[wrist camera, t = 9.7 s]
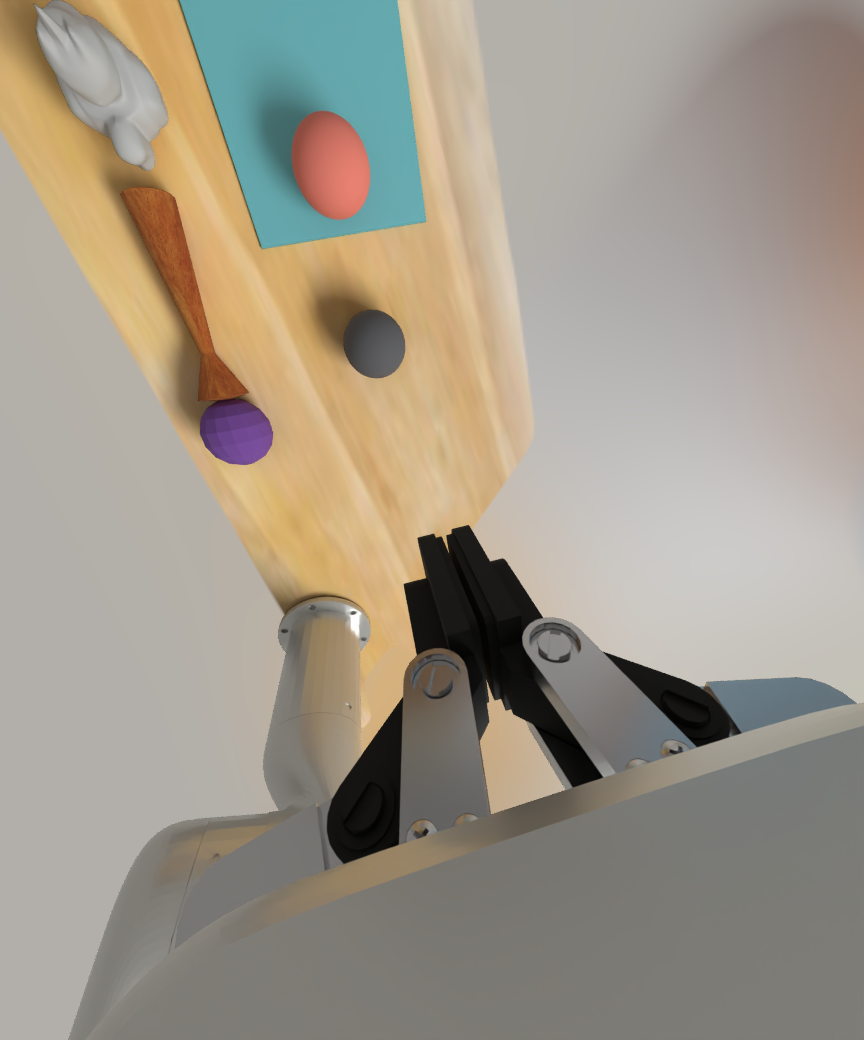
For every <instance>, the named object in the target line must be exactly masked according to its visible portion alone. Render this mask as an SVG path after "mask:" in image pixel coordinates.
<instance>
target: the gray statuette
mask: <svg viewBox="0 0 864 1040" xmlns="http://www.w3.org/2000/svg"><path fill="white" fill-rule="evenodd" d="M33 4H34V3H33ZM34 6H35V8H36V10H37V13H38V20H37V26H36V34H37V37H38V40H39V44H40V47H41V49H42V51H43V54H44V56H45V58H46V59H47V61H48V63H49V64H50V66H51V68H52V69H53V70H54V71H55V73H56V77H57V80H58V83H59V85H60V88H61V90H62V92H63V94H64V97H65V99H66V101H67V103H68V105H69V107H70V109H71V111H72V112H73V114H74V115H75V116H76V117H77V118H78V119H80V120H81V121H82V122H84V123H85V124H86V125H88V126H89V127H91V128H93V129H94V130H96V131H98V132H100V133H102V134H103V135H105V136H106V137H108V138H111V140H112V143H113V145H114V148H115V150H116V152H117V154H118V155H119V157H121V158H122V159H123V160H124V161H126V162H128V163H130V164H133V165H137V166H139V167H140V168H142V169H143V170H146V171H149V170H151V169H153V167H154V165H155V154H154V151H153V148H152V146H151V144H150V142H151V141H152V140H153V139H155V138H156V137H157V136H158V134H159V132H160V129H161V128H163V127H165V126H166V125H167V123H168V113H167V110H166V107H165V104H164V101H163V98H162V95H161V92H160V90H159V87H158V85H157V83H156V81H155V80H154V78H153V76H152V75H151V73H150V72H149V70H148V69H147V67H146V66H145V65H144V64H143V62H142V61H141V60H140V59H139V58H138V57H137V56H136V55H135V54H134V53H132V52H131V51H130V50H128V49H127V48H126V47H125V46H124V44H123V43H122V42H121V41H120V40H118V39H117V38H116V37H115V36H114V35H113V34H112V33H111V32H110V31H109V30H107V29H106V28H105V27H104V26H103V25H102V24H101V23H99V22H98V21H97V20H96V19H94V18H92V17H90V16H88V15H81V14H80V13H79V12H78V11H77V10H76V9H75V8H74V7H73V6H71V5H70V4H68V3H67V2H65V1H61V0H52V1H50V2H49V3H48V4H47V5H46V7H44V8H42V9H41V8H39V7H38V6H37V5H35V4H34Z"/></svg>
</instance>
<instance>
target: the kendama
mask: <svg viewBox="0 0 864 1040" xmlns="http://www.w3.org/2000/svg"><path fill="white" fill-rule="evenodd" d="M121 197H122V199H123V201H124V203H125V205H126V207H127V209H128V211H129V213H130V215H131V217H132V219H133V221H134V223H135V225H136V227H137V229H138V231H139V233H140V235H141V237H142V239H143V241H144V243H145V245H146V247H147V249H148V251H149V253H150V254H151V256H152V258H153V260H154V262H155V264H156V266H157V268H158V270H159V272H160V274H161V276H162V278H163V280H164V282H165V284H166V286H167V288H168V290H169V292H170V294H171V296H172V298H173V300H174V302H175V304H176V306H177V308H178V310H179V312H180V314H181V316H182V318H183V320H184V322H185V324H186V326H187V328H188V330H189V332H190V334H191V336H192V338H193V340H194V342H195V344H196V346H197V348H198V350H199V352H200V354H201V362H200V377H199V393H198V401H217V402H215V403H214V404H212V405H211V406H209V407H208V408H207V409H206V411H205V412H204V414H203V416H202V418H201V420H200V435H201V437H202V440H203V442H204V444H205V447H206V448H207V449H208V450H209V451H210V452H211V453H212V454H213V455H214V456H215V457H216V458H218V459H221V460H223V461H225V462H227V463H229V464H240V465H248V464H252V463H254V462H256V461H258V460H259V459H261V458H262V457H264V456H265V455H266V454H267V452H268V450H269V449H270V447H271V445H272V439H273V431H272V428H271V425H270V422H269V420H268V418H267V417H266V416H265V415H264V414H263V412H262V411H261V410H260V409H259V408H257V407H255V406H254V405H252V404H250V403H249V402H247V401H242V400H238V399H233V398H235V397H238V396H241V395H244V394H246V393H249V392H248V390H247V389H246V388H245V387H244V386H243V385H242V384H241V382H240V381H239V380H238V379H237V378H236V377H235V375H234V374H233V373H232V372H231V371H230V370H229V369H228V367H227V366H226V365H225V364H224V363H223V362H222V360H221V359H220V358H219V357H218V356H217V355H216V354H215V351H214V347H213V343H212V339H211V336H210V332H209V328H208V324H207V320H206V316H205V312H204V308H203V304H202V301H201V297H200V293H199V289H198V285H197V281H196V277H195V273H194V270H193V266H192V262H191V258H190V254H189V250H188V246H187V242H186V239H185V235H184V231H183V227H182V223H181V219H180V215H179V211H178V207H177V204H176V200H175V197H173V196H172V195H171V194H170V193H167V192H165V191H163V190H158V189H154V188H145V187H136V188H129V189H126V190H123V191H122V193H121Z"/></svg>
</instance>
